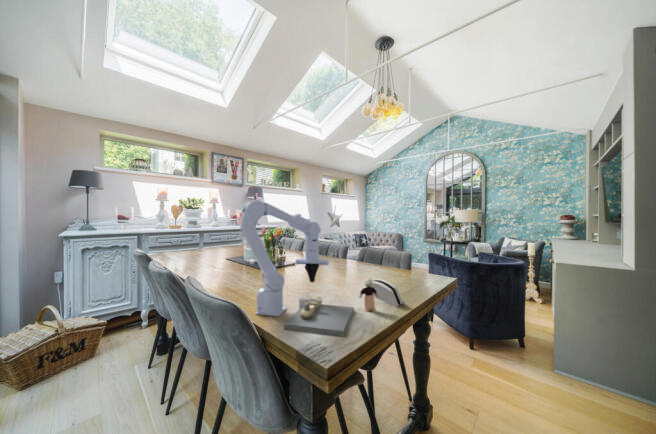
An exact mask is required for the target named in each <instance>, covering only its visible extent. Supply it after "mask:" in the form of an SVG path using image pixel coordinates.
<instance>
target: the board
mask: <svg viewBox="0 0 656 434" xmlns="http://www.w3.org/2000/svg"><path fill="white" fill-rule="evenodd" d="M306 304H308V303H306ZM354 312H355V307H354V306H346V305H345V306H344V305H343V306H342V305H335V304H334V305H332V304H323V303H321V304H319V306H318V307H317V308H316V310H315V311H314V313H313V317H311V318H302V317H301V311H300V310H299V309H298V310H297V311H296V312H294V314H293V315H292V316H291V317H289V319H288V320H286V321H285V323H283V329H285V330H292V331H299V332H301V331H302V332H308V333H309V332H310V333H315V334H316V333H317V334H323V335H325V334H326V335H334V336H341V337H344V335H345V333H346V331H347V328H348V326H349V324H350V321H351V319H352V317H353V315H354Z"/></svg>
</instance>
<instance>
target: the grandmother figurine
mask: <svg viewBox="0 0 656 434" xmlns="http://www.w3.org/2000/svg"><path fill="white" fill-rule="evenodd" d="M373 281H374V280H373V279H372V278H371V277H367V278H365V279H364V281H363V283H364V284H363V285H365V287H364V288H362V289H361V290H360V293H359V295H358V297H359V298H360V299H361V298H362V296H364V308H363V309H364V311H365V312H367V313H369V312H370V311H371V312H376V307H375V298H377V297H379V295H378V293H377V291H376V290H375V289H374V288H373V287H371V285H372V284H373ZM373 293H375V295H376V297H375V296H373Z"/></svg>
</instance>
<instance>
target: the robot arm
mask: <svg viewBox="0 0 656 434" xmlns="http://www.w3.org/2000/svg"><path fill="white" fill-rule="evenodd" d="M263 216H272V217H273V218H276V219H279V220H280V221H281V220H282V221H283V222H286V223H288V226H289V227H290V228H293V229H294V230H297V231H299V232H302V233H303V234H304V245H305V246H304V249H305V251H304V254H305V255H304V257H305V258H297V259H295V265H304V269H305V271H306V273H307V275H308V278H309V282H310V283H314V282H315V281H316V276H317V271H318V269H319V267H320V266H329V265H330V260H328V259H321V258H319V257H320V256H319V255H320V254H319V251H320V250H319V235H320V233H321V231H322V228H321V226H320V225H319V223H318V222H316V221H311V218H305V217H303V216H302V214H300V213H294V214H290V213H288V212H286V211H284V210H282V209H280V208H278V207H276V206H274V205H272V204H270V203H267V202H265V201H264V202H263V201H262V200H259V199H253V200H252V201H250V202H248V203H246V204H245V205H244V207H243V209H242V211H241V219H240V226H239V227H240V231H241V232H242V235H243V236H244V239H245V241H246V242H247V245H248V247H249V248H250V250H251V252H252V254H253V256H254V259H255V260H256V262H257V264H258V266H259V268H260V272H261V275H262V282H263V283H264V287H261V288H260V289H259V290H258V291H257V295H256V312H255V314H256V315H263V316H273V317H279V316H280V315H281V314H282V313H283V312H285V311H286V310H287V309H288V307H286V306H284V299H283V297H284V296H283V293H284V292H283V290H284V289H283V288H284V284H285V278H284V276H283V275H282V274H281V273H279V272H278V269H277V267H276V266H275V265H274V263H273V261H272V260H271V257H270V256H269V253H268V252H267V250H266V249H267V248H266V247H265V245H264V243H263V241H262V239H261V237H260V235H259V233H258V230H257V224H258V222H259V220H260V219H261V218H262V217H263Z"/></svg>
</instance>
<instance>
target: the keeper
mask: <svg viewBox="0 0 656 434" xmlns="http://www.w3.org/2000/svg"><path fill="white" fill-rule="evenodd" d="M298 302H299V303H298V305H299V308H298V310H300V311H301V309H303V308H304V305H305V304H306V303H313V304H323V299H322V298H321V299H312V298H307V297H300V298H299V301H298Z"/></svg>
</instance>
